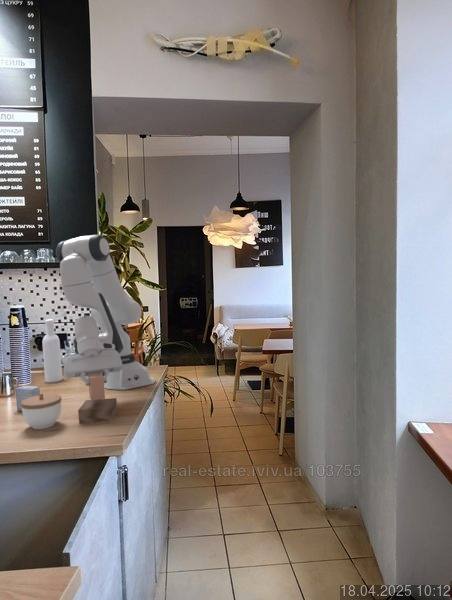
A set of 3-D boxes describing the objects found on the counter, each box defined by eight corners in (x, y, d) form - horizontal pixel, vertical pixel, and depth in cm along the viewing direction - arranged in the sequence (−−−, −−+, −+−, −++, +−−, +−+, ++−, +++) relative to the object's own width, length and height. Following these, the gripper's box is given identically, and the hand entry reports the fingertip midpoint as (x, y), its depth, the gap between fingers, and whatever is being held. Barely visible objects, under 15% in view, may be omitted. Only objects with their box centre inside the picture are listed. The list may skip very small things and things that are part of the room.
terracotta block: (102, 395, 153) (101, 373, 152) (104, 398, 149) (103, 376, 148) (89, 397, 151) (88, 375, 151) (91, 400, 147) (90, 378, 146)
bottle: (41, 381, 205) (37, 320, 203) (56, 377, 212) (51, 318, 210) (51, 383, 201) (46, 320, 199) (65, 379, 207) (61, 318, 205)
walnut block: (117, 411, 157) (116, 398, 156) (111, 421, 146) (110, 407, 145) (86, 413, 156) (85, 400, 155) (79, 424, 145) (78, 410, 144)
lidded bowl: (22, 435, 136) (19, 401, 135) (23, 423, 148) (21, 392, 147) (64, 427, 141) (61, 395, 140) (62, 416, 152) (60, 386, 152)
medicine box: (41, 408, 163) (40, 386, 163) (33, 412, 159) (31, 389, 158) (25, 407, 166) (24, 385, 165) (16, 410, 162) (14, 388, 161)
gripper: (60, 350, 150) (65, 383, 142) (118, 343, 160) (126, 374, 151) (60, 360, 155) (65, 392, 147) (116, 353, 164) (124, 383, 156)
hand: (96, 383), depth 149 cm, fingers closed on terracotta block, 4 cm apart
